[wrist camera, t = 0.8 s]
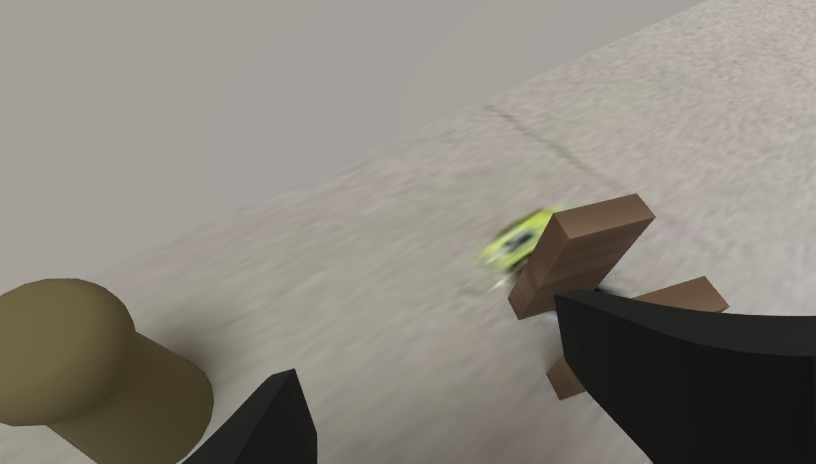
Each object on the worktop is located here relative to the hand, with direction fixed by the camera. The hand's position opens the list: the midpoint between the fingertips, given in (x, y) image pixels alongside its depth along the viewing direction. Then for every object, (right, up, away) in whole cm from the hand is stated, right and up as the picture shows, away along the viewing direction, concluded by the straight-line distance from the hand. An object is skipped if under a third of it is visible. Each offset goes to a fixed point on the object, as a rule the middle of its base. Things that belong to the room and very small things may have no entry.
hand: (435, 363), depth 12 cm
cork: (-14, -6, +12) cm, 20 cm away
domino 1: (+8, -1, +17) cm, 19 cm away
